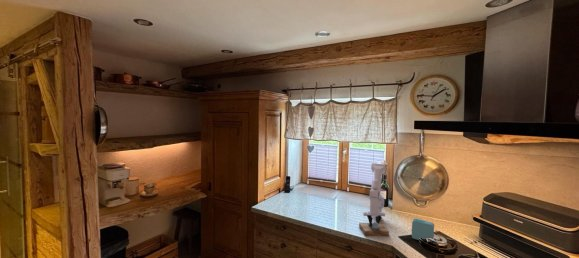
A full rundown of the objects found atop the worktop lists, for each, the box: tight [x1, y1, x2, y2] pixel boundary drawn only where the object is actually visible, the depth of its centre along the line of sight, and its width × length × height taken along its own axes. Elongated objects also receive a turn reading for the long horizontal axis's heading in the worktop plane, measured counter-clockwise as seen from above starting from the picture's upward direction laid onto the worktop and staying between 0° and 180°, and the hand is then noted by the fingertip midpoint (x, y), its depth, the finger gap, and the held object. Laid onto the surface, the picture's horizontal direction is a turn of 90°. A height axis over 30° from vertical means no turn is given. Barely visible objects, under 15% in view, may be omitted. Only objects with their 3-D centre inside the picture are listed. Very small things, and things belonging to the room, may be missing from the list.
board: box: [358, 222, 390, 237], centre depth 158 cm, size 12×16×3 cm
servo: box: [370, 219, 379, 230], centre depth 158 cm, size 9×4×6 cm, turn 1°
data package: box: [411, 218, 435, 241], centre depth 149 cm, size 12×4×12 cm, turn 55°
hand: (373, 226), depth 158 cm, fingers closed on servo, 4 cm apart
